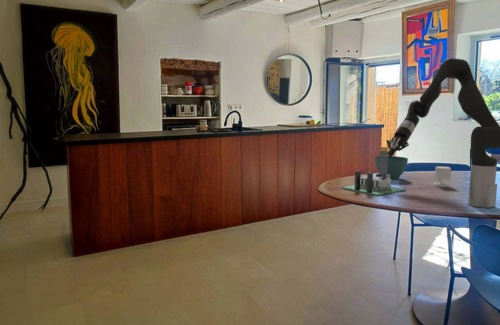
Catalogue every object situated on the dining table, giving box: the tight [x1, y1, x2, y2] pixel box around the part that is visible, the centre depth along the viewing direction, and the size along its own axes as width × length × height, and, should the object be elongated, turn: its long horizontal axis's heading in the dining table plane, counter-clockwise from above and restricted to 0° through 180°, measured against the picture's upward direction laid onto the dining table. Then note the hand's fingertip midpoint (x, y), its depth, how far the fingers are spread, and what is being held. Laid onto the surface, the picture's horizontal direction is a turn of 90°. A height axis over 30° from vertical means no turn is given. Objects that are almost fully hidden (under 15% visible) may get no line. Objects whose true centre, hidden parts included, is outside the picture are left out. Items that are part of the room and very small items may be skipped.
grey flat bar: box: [378, 146, 389, 178], centre depth 201 cm, size 5×1×16 cm, turn 35°
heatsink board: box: [341, 170, 407, 197], centre depth 198 cm, size 22×22×10 cm
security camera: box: [432, 166, 452, 188], centre depth 208 cm, size 6×7×10 cm
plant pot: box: [374, 155, 409, 180], centre depth 231 cm, size 18×18×12 cm
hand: (389, 155), depth 203 cm, fingers closed
